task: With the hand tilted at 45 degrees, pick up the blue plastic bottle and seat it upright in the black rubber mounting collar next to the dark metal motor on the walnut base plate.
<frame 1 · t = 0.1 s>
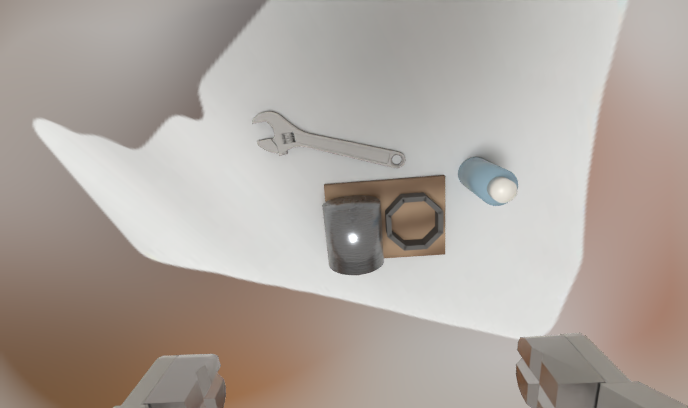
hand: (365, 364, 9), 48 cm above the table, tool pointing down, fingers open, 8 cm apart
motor: (354, 221, 59), resting on base plate
base plate: (385, 218, 59), on the table
adjustable wrench: (327, 147, 56), on the table
collar: (411, 217, 58), resting on base plate
blue plastic bottle: (474, 172, 56), on the table
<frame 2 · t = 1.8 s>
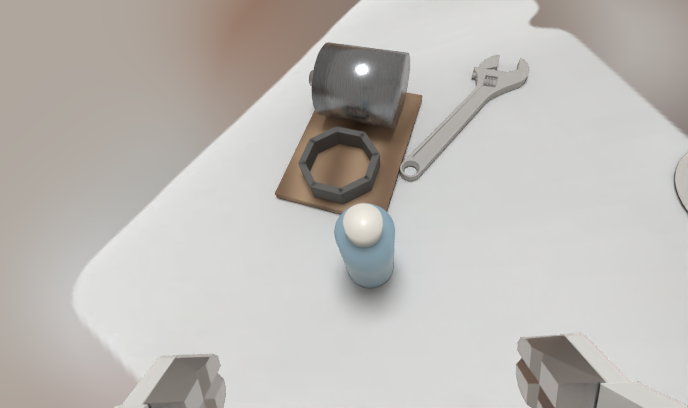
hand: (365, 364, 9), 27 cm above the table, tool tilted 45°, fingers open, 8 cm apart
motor: (365, 115, 48), resting on base plate
base plate: (352, 146, 45), on the table
adjustable wrench: (458, 116, 46), on the table
collar: (342, 173, 44), resting on base plate
blue plastic bottle: (370, 264, 38), on the table
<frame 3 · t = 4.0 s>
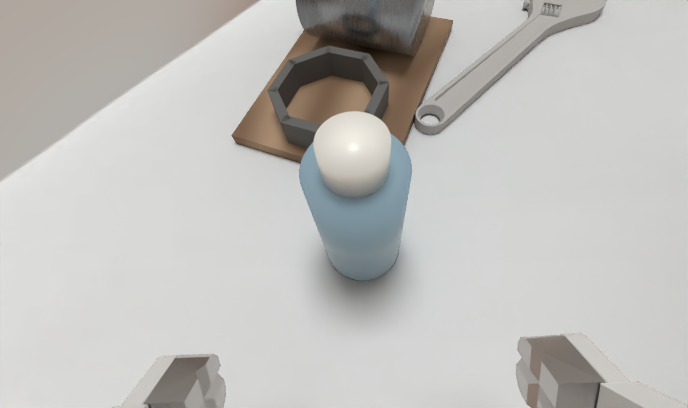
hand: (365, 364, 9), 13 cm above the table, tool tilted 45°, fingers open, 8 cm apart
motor: (371, 45, 34), resting on base plate
base plate: (351, 82, 32), on the table
adjustable wrench: (501, 55, 33), on the table
collar: (332, 116, 30), resting on base plate
blue plastic bottle: (362, 245, 24), on the table
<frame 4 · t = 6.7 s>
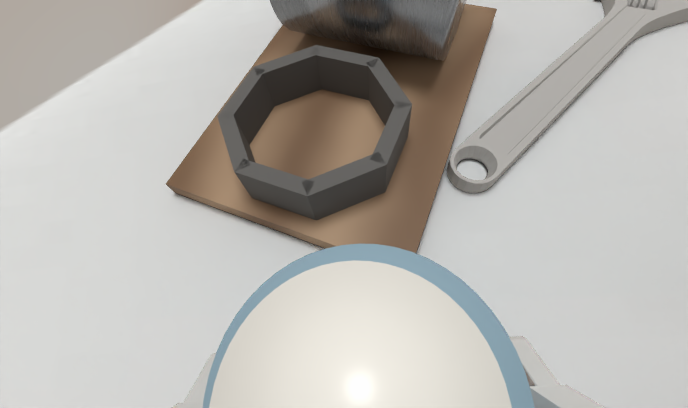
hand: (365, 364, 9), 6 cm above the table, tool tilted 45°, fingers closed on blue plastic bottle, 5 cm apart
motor: (379, 44, 24), resting on base plate
base plate: (350, 98, 22), on the table
adjustable wrench: (569, 66, 22), on the table
collar: (322, 151, 20), resting on base plate
blue plastic bottle: (371, 387, 14), on the table, touching gripper
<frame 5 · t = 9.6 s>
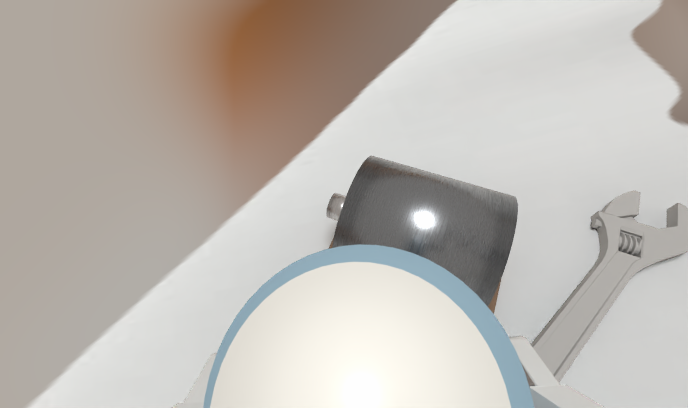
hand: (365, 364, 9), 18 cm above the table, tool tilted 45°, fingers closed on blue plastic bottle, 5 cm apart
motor: (412, 259, 29), resting on base plate
adjustable wrench: (572, 300, 27), on the table
blue plastic bottle: (371, 387, 14), point 12 cm above the table, touching gripper
when the fingers open (8 cm above the table, at t = 12.5 s): blue plastic bottle drops 1 cm, resting on base plate.
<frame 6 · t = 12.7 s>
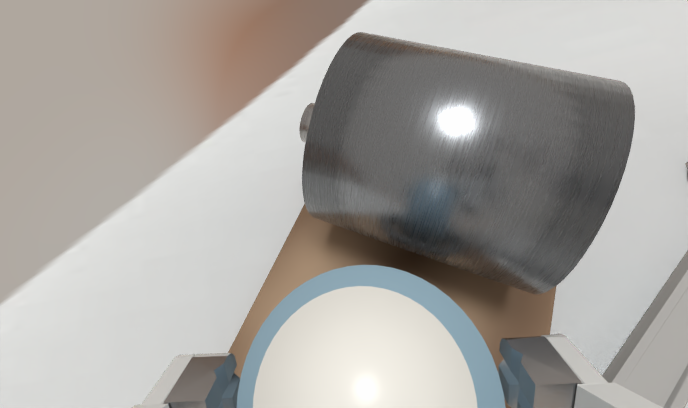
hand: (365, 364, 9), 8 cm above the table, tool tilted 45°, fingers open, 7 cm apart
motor: (428, 212, 20), resting on base plate
base plate: (400, 298, 18), on the table
adjustable wrench: (671, 282, 18), on the table
blue plastic bottle: (373, 387, 15), point 1 cm above the table, touching base plate
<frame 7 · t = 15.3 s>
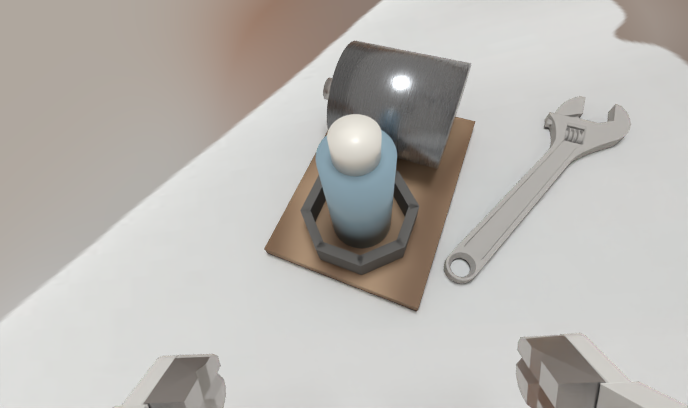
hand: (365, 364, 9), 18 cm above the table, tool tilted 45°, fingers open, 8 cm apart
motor: (395, 143, 35), resting on base plate
base plate: (377, 186, 33), on the table
adjustable wrench: (526, 182, 33), on the table
collar: (360, 225, 31), resting on base plate
blue plastic bottle: (361, 220, 30), point 1 cm above the table, touching base plate
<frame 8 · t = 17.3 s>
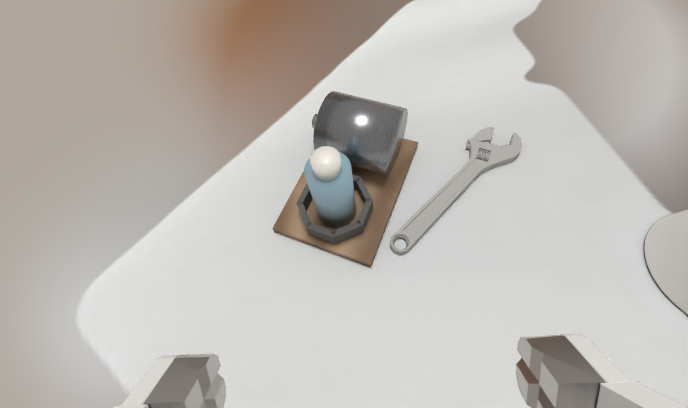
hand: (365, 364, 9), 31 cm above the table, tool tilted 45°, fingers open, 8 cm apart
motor: (362, 157, 51), resting on base plate
base plate: (349, 186, 48), on the table
adjustable wrench: (450, 187, 48), on the table
collar: (336, 213, 47), resting on base plate
blue plastic bottle: (337, 210, 46), point 1 cm above the table, touching base plate
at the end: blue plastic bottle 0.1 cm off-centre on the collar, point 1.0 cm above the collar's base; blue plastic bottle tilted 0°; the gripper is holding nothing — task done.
